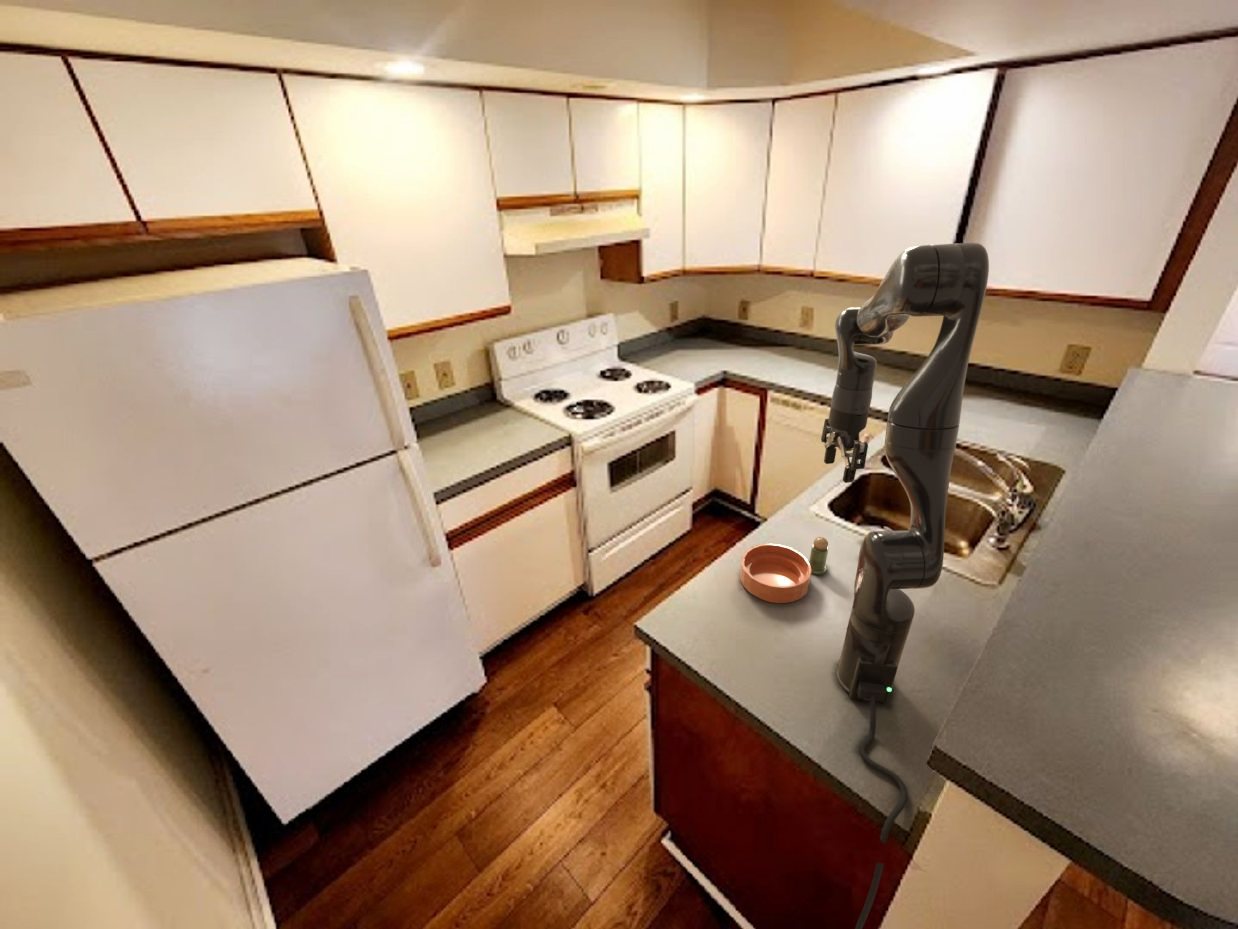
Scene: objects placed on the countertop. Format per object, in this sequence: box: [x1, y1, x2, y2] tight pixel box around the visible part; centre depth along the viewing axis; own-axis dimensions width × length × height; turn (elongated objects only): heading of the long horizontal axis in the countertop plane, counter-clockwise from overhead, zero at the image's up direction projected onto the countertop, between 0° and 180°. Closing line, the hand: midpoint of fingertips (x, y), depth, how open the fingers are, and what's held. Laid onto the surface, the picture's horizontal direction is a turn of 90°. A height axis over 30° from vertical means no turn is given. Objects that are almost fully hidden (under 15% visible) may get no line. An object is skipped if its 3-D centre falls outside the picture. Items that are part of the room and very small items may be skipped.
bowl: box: [740, 543, 812, 604], centre depth 122 cm, size 15×15×5 cm
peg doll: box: [808, 536, 829, 576], centre depth 124 cm, size 4×4×9 cm
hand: (838, 472), depth 119 cm, fingers open, 8 cm apart
